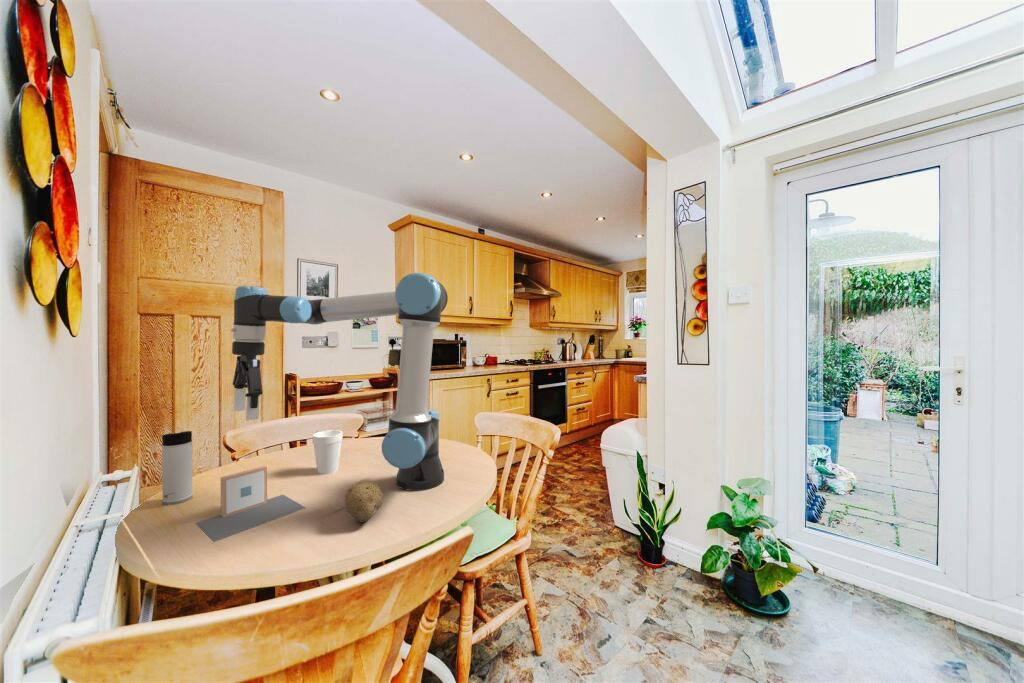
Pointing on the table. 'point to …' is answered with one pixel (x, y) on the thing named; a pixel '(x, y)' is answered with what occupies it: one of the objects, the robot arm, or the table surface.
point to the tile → (243, 491)
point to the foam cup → (327, 450)
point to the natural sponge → (363, 500)
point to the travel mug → (177, 468)
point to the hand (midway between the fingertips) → (245, 414)
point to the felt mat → (248, 518)
